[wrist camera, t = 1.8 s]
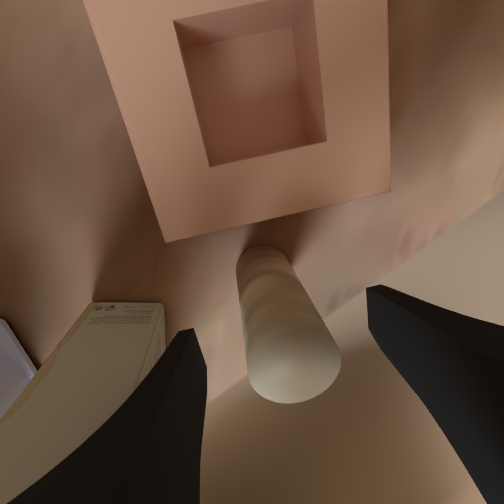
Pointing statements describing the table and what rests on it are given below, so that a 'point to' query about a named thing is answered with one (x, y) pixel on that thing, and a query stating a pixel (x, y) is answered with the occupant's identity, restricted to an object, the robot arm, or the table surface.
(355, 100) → the socket block
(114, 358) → the skincare box
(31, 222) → the table surface
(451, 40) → the table surface
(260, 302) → the beech peg
